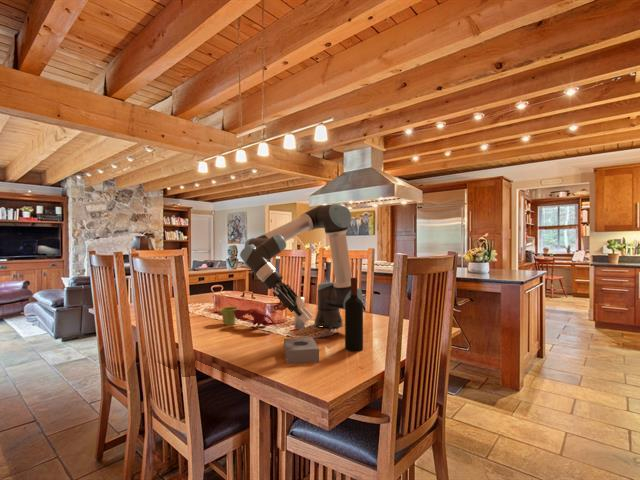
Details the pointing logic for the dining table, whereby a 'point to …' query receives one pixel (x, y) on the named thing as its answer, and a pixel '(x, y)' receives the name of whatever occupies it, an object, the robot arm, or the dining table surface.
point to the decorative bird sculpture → (254, 316)
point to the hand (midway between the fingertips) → (308, 319)
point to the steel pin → (297, 322)
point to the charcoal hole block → (301, 350)
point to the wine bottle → (354, 320)
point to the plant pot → (228, 315)
